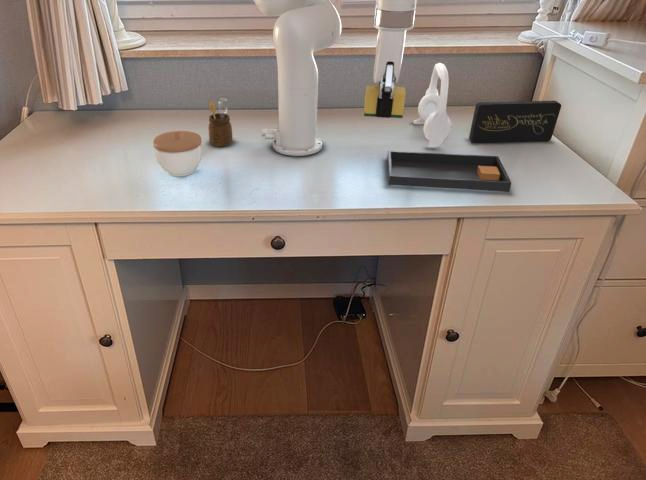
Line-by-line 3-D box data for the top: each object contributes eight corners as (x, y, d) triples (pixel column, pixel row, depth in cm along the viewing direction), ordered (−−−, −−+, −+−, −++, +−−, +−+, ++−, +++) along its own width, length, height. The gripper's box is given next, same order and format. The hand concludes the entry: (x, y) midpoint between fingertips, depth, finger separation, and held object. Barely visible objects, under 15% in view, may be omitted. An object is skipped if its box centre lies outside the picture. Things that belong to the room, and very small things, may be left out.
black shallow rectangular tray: (388, 187, 112) (389, 176, 110) (386, 160, 123) (388, 150, 122) (508, 194, 109) (511, 182, 107) (495, 166, 120) (498, 156, 119)
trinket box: (154, 165, 122) (148, 127, 116) (198, 159, 125) (194, 121, 119) (162, 184, 114) (156, 143, 108) (209, 176, 117) (205, 136, 111)
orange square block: (479, 179, 113) (481, 173, 112) (476, 172, 116) (478, 165, 115) (498, 180, 113) (500, 174, 112) (495, 173, 116) (496, 166, 115)
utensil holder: (237, 141, 134) (234, 94, 127) (224, 149, 130) (220, 101, 123) (218, 137, 136) (214, 91, 129) (204, 145, 132) (200, 98, 125)
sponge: (364, 116, 108) (366, 92, 105) (364, 108, 112) (366, 85, 109) (402, 118, 108) (406, 94, 105) (401, 110, 112) (404, 86, 109)
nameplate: (547, 138, 134) (558, 100, 128) (550, 141, 133) (562, 102, 127) (468, 140, 133) (476, 102, 127) (470, 143, 132) (479, 104, 126)
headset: (448, 151, 128) (463, 77, 117) (419, 150, 128) (431, 76, 118) (438, 123, 144) (450, 56, 133) (413, 122, 145) (422, 55, 134)
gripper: (374, 10, 106) (365, 99, 117) (374, 27, 93) (364, 125, 103) (411, 12, 106) (398, 100, 116) (417, 28, 92) (402, 127, 103)
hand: (383, 111), depth 110 cm, fingers closed on sponge, 5 cm apart
